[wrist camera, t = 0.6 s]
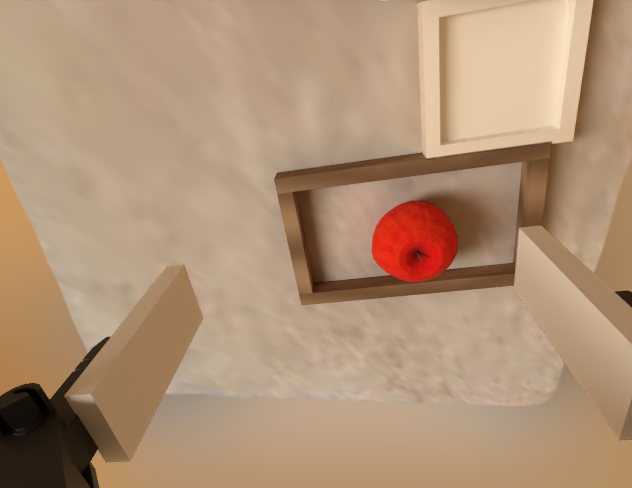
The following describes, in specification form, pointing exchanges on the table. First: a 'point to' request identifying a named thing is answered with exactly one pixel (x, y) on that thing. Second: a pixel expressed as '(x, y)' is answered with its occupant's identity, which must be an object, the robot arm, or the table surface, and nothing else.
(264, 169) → the table surface
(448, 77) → the dish
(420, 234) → the apple
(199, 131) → the table surface
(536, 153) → the pocket frame
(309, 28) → the table surface
